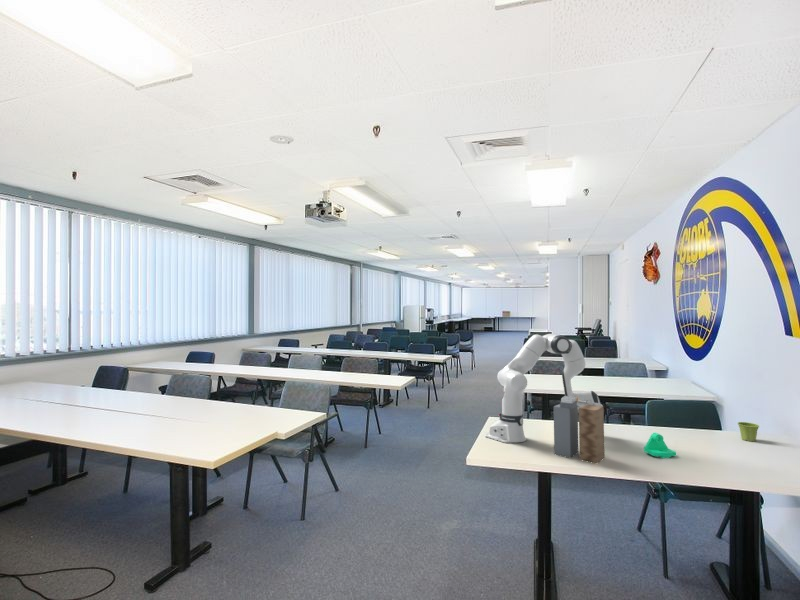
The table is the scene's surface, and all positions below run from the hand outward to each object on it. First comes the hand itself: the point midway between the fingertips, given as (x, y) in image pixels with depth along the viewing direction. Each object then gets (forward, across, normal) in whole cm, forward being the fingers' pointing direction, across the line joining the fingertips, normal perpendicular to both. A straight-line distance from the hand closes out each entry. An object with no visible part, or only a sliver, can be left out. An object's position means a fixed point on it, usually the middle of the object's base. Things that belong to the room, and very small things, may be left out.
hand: (578, 400), depth 227 cm
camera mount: (-22, +36, +16) cm, 45 cm away
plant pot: (-74, +66, -14) cm, 100 cm away
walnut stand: (+3, +12, +29) cm, 32 cm away
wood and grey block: (+11, +1, +6) cm, 12 cm away
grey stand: (+3, 0, +29) cm, 29 cm away
